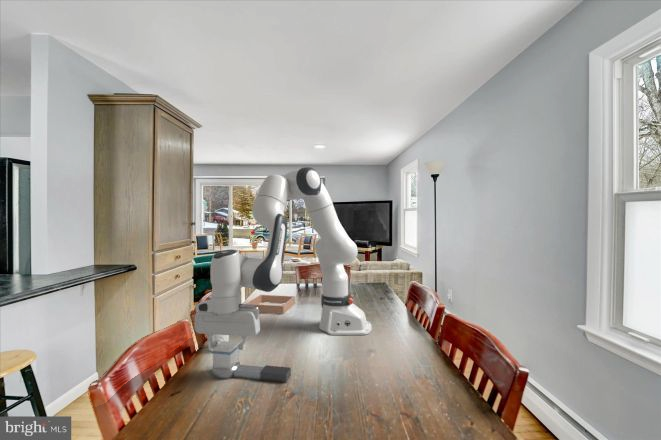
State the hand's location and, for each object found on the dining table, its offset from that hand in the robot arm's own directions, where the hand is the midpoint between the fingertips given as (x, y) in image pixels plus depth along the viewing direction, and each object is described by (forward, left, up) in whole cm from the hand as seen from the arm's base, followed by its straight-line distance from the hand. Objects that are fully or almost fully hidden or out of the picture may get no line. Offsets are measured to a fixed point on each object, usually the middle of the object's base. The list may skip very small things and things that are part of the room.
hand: (227, 348), depth 98 cm
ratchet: (-7, 0, -8) cm, 11 cm away
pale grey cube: (+1, 0, -5) cm, 5 cm away
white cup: (+13, -16, -8) cm, 22 cm away
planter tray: (+13, -67, -8) cm, 68 cm away
